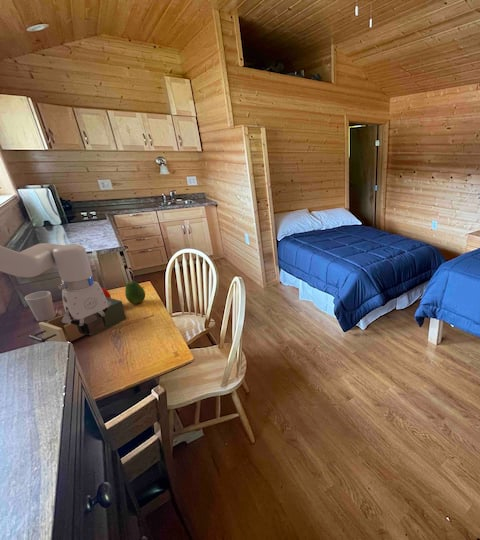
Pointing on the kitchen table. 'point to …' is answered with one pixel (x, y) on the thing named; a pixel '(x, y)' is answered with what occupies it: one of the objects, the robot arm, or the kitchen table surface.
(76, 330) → the drawer
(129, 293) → the fruit
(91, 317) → the block
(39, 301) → the cup
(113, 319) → the cabinet
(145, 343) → the kitchen table surface
